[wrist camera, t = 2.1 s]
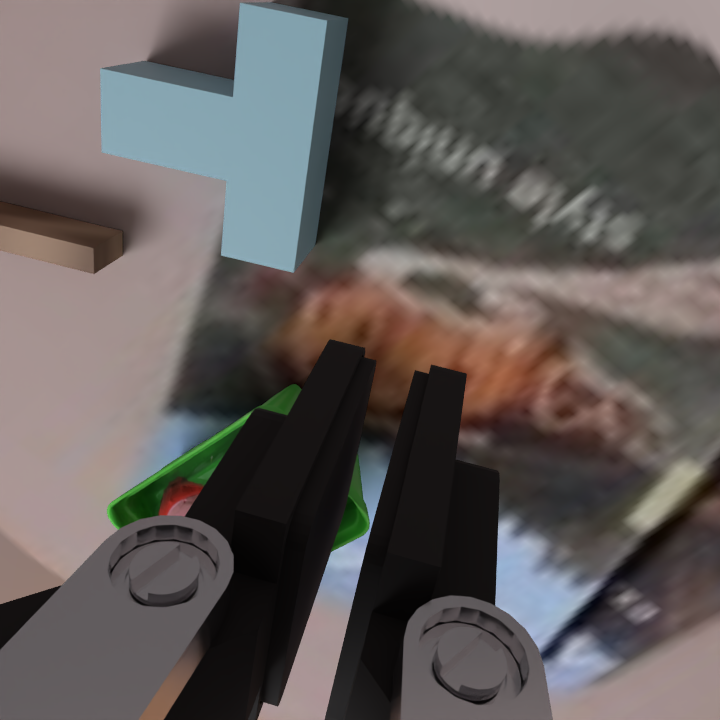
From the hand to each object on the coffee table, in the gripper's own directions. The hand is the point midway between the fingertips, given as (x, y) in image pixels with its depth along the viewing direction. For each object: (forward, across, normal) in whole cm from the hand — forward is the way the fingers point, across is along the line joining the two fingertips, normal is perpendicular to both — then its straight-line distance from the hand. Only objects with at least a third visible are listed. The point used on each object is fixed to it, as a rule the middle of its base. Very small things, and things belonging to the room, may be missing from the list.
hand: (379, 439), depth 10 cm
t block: (+19, +10, 0) cm, 21 cm away
